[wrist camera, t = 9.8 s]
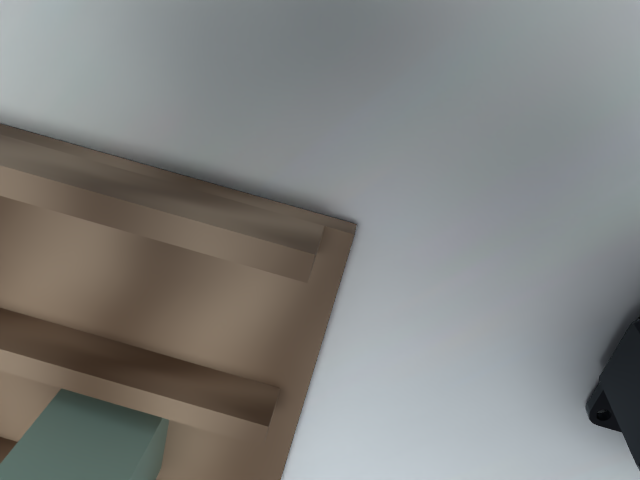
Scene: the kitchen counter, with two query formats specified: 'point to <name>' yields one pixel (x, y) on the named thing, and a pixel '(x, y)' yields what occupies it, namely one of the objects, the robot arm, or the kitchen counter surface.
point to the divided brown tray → (161, 303)
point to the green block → (88, 443)
